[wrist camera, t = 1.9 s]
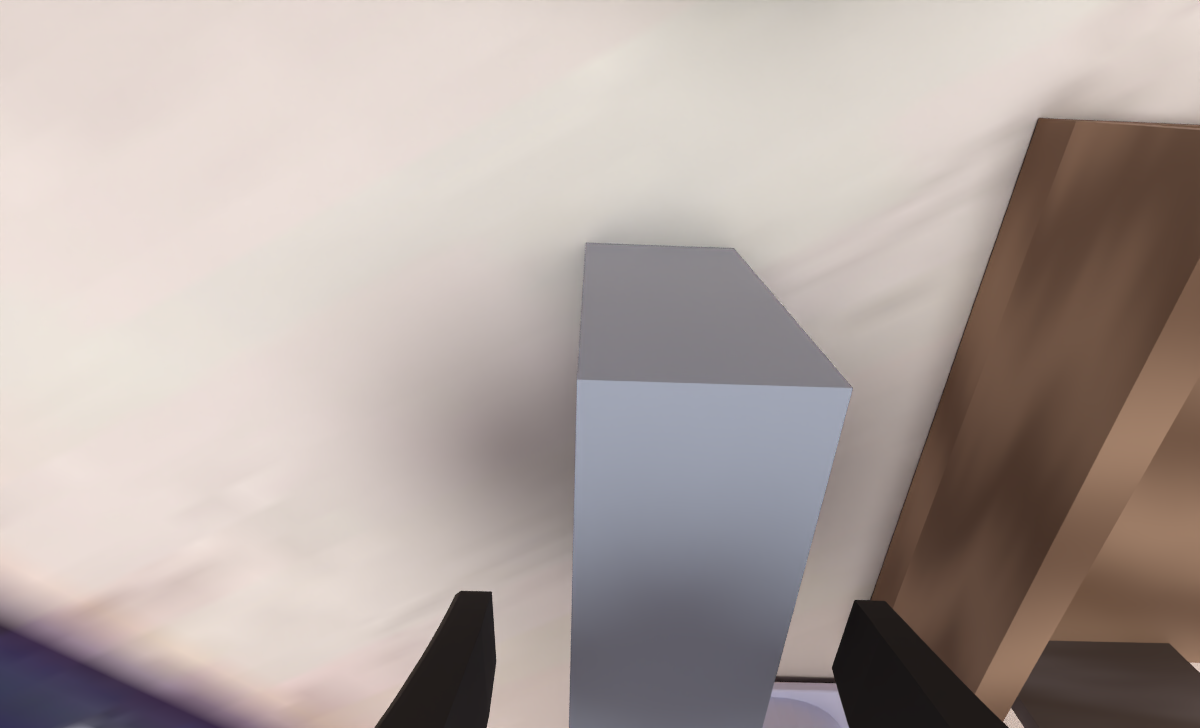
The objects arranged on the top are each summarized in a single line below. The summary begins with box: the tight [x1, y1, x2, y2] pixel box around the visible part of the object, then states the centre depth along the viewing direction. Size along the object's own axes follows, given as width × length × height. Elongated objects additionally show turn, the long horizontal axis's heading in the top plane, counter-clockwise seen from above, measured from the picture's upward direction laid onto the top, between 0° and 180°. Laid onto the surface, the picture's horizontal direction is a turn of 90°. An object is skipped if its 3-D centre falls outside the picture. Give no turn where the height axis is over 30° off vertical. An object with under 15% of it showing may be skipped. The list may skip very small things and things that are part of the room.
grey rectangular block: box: [569, 243, 853, 728], centre depth 14 cm, size 4×12×8 cm, turn 178°
